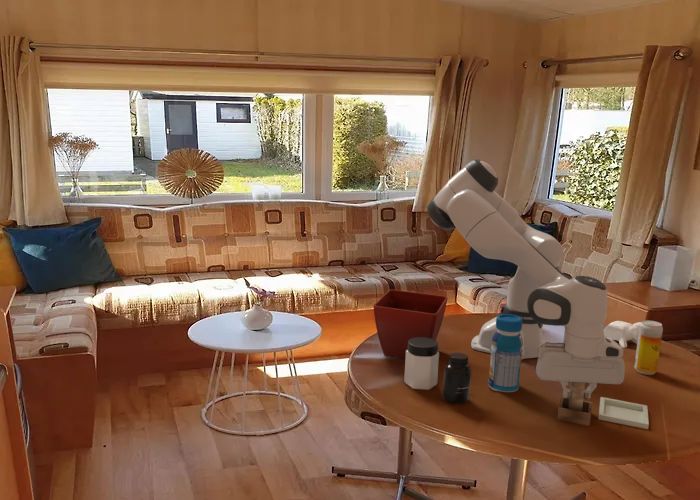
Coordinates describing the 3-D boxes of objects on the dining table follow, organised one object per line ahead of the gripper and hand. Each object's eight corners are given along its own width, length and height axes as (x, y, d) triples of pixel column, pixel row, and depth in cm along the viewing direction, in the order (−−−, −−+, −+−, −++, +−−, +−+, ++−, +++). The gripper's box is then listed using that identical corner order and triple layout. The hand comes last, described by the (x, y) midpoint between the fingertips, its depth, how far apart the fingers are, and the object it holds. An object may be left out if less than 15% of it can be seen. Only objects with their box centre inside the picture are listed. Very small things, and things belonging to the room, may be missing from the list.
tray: (598, 421, 151) (599, 414, 151) (599, 403, 161) (600, 396, 161) (647, 431, 147) (648, 424, 146) (646, 412, 157) (647, 405, 156)
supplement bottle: (462, 407, 156) (466, 363, 154) (437, 400, 160) (440, 356, 157) (472, 397, 162) (476, 354, 159) (448, 391, 165) (451, 348, 163)
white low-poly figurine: (601, 349, 208) (641, 347, 196) (596, 324, 209) (635, 320, 197) (617, 344, 213) (657, 342, 200) (611, 320, 214) (651, 316, 201)
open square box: (556, 421, 150) (558, 408, 150) (559, 408, 157) (561, 396, 156) (589, 428, 148) (590, 414, 147) (590, 415, 154) (592, 402, 153)
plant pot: (433, 369, 180) (436, 313, 176) (370, 359, 185) (372, 305, 182) (444, 347, 197) (448, 296, 194) (387, 338, 203) (389, 289, 200)
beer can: (659, 376, 179) (666, 327, 176) (636, 374, 180) (643, 325, 177) (653, 368, 185) (660, 320, 182) (631, 366, 186) (638, 319, 183)
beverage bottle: (503, 396, 163) (510, 324, 159) (480, 384, 170) (486, 315, 166) (525, 390, 167) (532, 319, 163) (502, 378, 174) (509, 310, 170)
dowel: (566, 417, 151) (571, 379, 149) (568, 411, 154) (572, 374, 152) (580, 420, 150) (585, 381, 148) (581, 414, 153) (586, 376, 151)
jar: (442, 387, 167) (445, 345, 165) (416, 392, 164) (419, 349, 161) (424, 374, 175) (426, 334, 173) (399, 379, 172) (401, 338, 169)
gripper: (541, 346, 146) (536, 400, 149) (630, 351, 145) (623, 405, 148) (535, 337, 152) (530, 389, 155) (620, 341, 151) (613, 394, 154)
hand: (576, 397), depth 151 cm, fingers closed on dowel, 3 cm apart
